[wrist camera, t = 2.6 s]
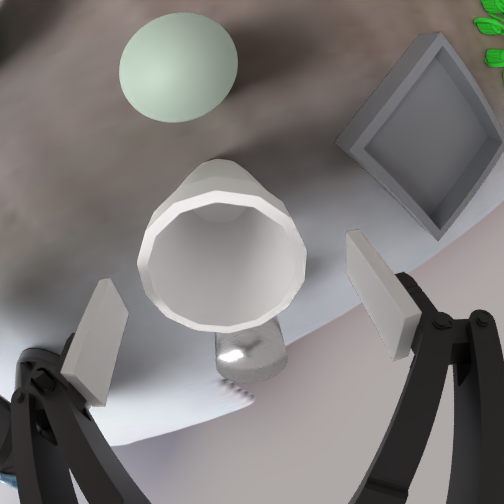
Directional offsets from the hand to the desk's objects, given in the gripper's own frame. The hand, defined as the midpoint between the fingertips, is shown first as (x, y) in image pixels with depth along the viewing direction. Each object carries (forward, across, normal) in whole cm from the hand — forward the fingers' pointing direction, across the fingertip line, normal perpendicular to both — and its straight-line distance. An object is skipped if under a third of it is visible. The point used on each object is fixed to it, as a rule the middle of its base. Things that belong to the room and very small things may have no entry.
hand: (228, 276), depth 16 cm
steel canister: (+14, 0, +11) cm, 18 cm away
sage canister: (+14, 0, -11) cm, 17 cm away
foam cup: (+14, 0, 0) cm, 14 cm away
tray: (+14, -22, -3) cm, 26 cm away
